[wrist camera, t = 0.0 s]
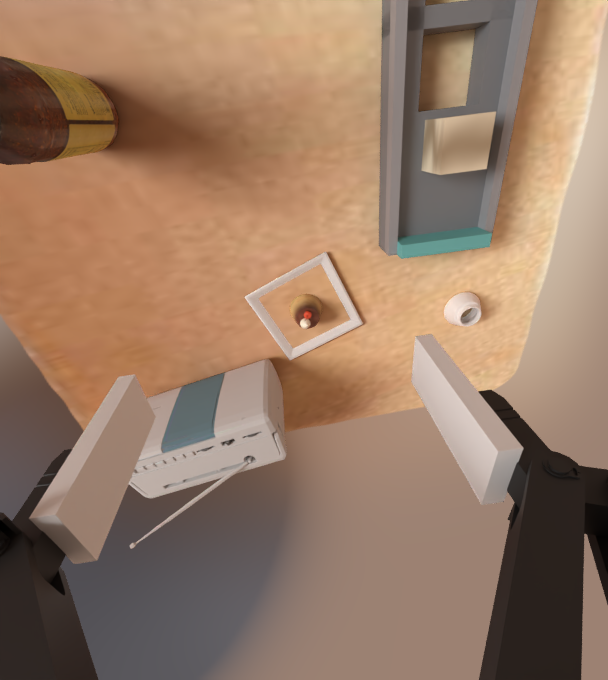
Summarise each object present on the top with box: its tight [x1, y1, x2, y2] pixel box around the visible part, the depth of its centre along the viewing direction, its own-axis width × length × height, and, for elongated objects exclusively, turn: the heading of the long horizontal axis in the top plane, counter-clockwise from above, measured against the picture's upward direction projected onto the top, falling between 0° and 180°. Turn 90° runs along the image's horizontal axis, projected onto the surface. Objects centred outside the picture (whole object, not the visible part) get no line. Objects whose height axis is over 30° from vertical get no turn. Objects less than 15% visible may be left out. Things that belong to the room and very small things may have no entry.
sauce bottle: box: [0, 56, 119, 165], centre depth 24 cm, size 7×6×20 cm
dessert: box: [245, 252, 363, 360], centre depth 44 cm, size 12×12×5 cm
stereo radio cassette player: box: [129, 359, 287, 549], centre depth 43 cm, size 21×8×20 cm, turn 109°
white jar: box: [444, 292, 481, 326], centre depth 46 cm, size 5×3×5 cm
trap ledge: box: [379, 0, 538, 259], centre depth 32 cm, size 28×12×6 cm, turn 6°
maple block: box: [421, 112, 496, 175], centre depth 32 cm, size 4×4×4 cm
